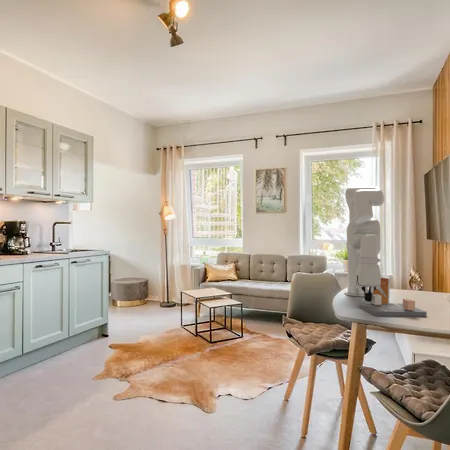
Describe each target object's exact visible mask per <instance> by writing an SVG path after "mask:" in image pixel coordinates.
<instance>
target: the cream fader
mask: <svg viewBox="0 0 450 450" xmlns="http://www.w3.org/2000/svg"><path fill="white" fill-rule="evenodd" d="M370 303H372V304H374V305H381V296H380V295H378V294H372V300H371V302H370Z"/></svg>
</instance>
